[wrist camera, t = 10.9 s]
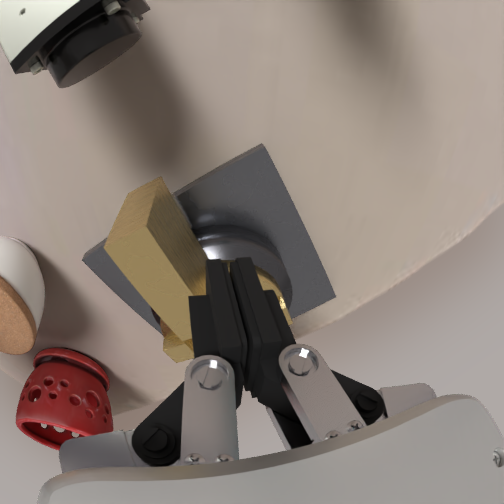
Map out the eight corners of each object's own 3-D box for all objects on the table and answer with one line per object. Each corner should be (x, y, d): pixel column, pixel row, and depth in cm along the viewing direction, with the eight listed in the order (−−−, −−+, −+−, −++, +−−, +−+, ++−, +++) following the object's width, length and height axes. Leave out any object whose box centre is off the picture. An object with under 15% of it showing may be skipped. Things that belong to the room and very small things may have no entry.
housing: (194, 353, 34) (196, 381, 31) (81, 249, 23) (67, 278, 20) (332, 290, 31) (346, 316, 28) (258, 137, 20) (271, 152, 17)
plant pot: (85, 395, 38) (78, 460, 28) (21, 353, 30) (1, 423, 21) (137, 377, 36) (134, 456, 26) (62, 325, 28) (38, 415, 18)
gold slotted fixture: (294, 321, 26) (313, 375, 22) (197, 355, 27) (201, 409, 22) (218, 149, 16) (227, 189, 12) (84, 218, 17) (51, 275, 12)
